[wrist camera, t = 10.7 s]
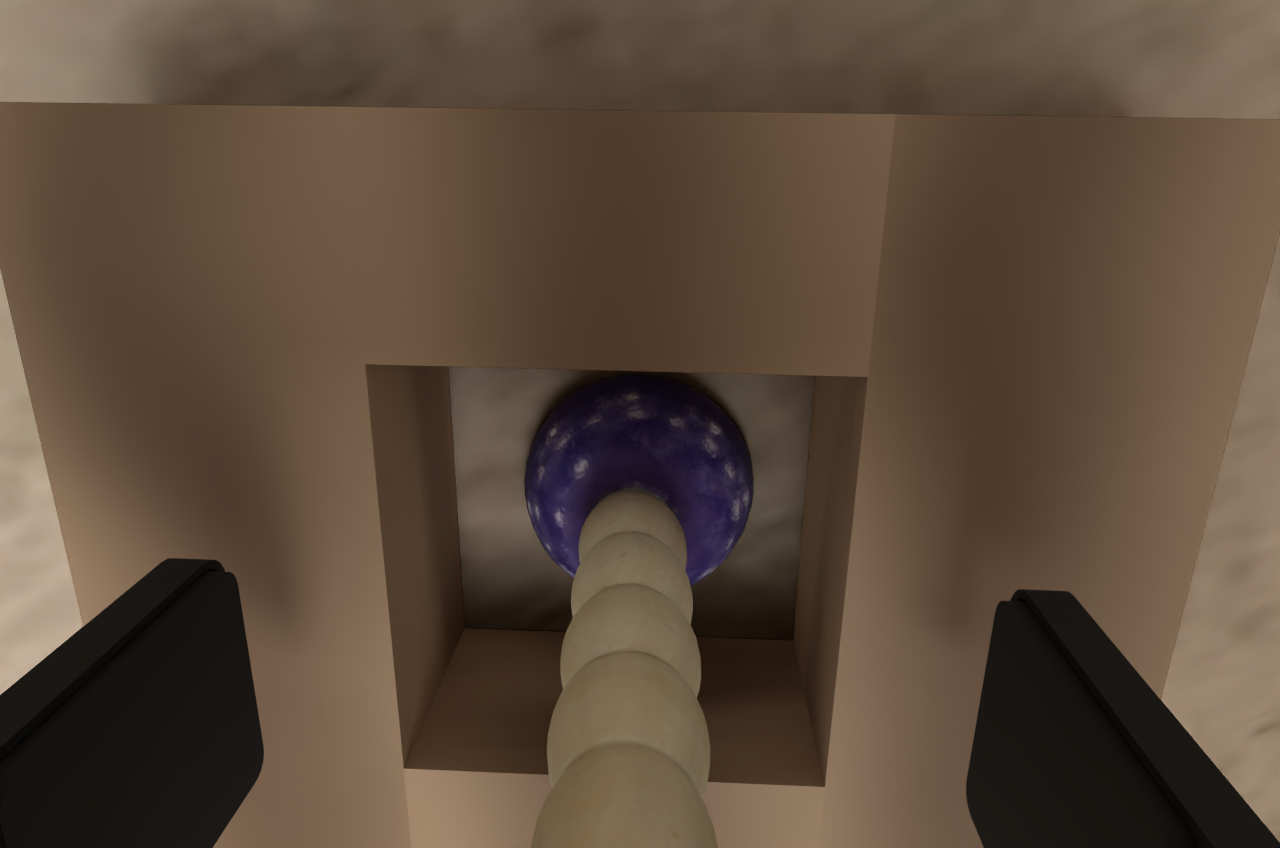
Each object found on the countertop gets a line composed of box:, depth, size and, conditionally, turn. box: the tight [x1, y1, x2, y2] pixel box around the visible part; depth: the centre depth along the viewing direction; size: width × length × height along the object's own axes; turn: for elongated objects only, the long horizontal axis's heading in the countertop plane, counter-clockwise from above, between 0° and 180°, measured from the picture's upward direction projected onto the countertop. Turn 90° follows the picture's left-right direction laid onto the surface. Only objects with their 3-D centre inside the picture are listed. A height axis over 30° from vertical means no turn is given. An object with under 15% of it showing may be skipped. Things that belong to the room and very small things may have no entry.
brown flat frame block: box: [0, 102, 1280, 848], centre depth 14 cm, size 16×13×4 cm
